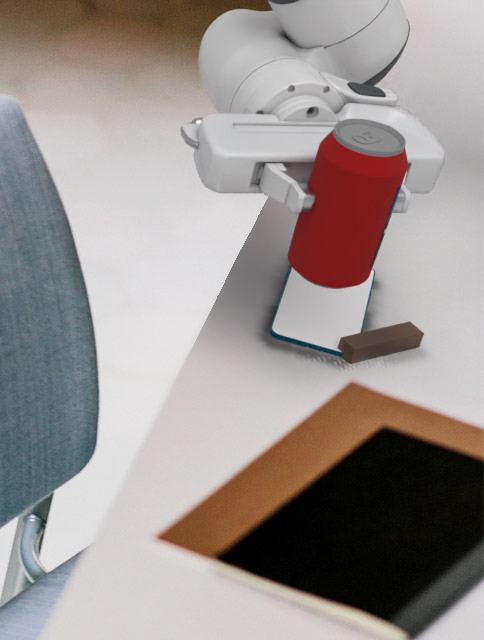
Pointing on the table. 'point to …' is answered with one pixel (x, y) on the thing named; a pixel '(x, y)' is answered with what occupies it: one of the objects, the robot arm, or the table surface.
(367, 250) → the beverage can
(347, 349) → the walnut stick
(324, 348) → the smartphone
